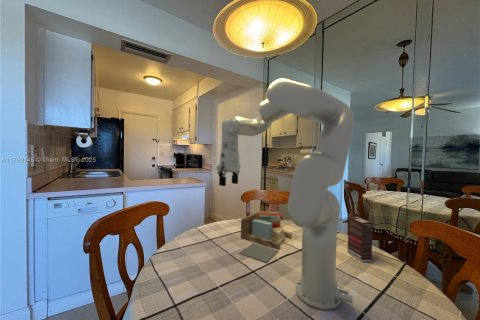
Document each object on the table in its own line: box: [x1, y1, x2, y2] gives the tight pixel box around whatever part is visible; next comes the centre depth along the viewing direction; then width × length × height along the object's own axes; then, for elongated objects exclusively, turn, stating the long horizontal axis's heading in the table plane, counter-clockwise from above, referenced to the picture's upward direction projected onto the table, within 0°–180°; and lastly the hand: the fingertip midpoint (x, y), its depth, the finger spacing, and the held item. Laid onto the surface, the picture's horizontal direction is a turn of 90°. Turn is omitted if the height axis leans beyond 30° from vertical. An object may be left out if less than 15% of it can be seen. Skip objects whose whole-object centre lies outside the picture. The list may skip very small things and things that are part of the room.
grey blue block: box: [251, 219, 273, 241], centre depth 103 cm, size 10×4×8 cm, turn 56°
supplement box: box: [347, 216, 374, 263], centre depth 83 cm, size 9×5×16 cm, turn 9°
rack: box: [240, 212, 293, 251], centre depth 101 cm, size 21×16×10 cm
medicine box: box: [253, 210, 281, 229], centre depth 120 cm, size 15×8×8 cm, turn 88°
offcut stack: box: [270, 227, 286, 245], centre depth 98 cm, size 4×8×6 cm, turn 146°
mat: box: [238, 242, 279, 264], centre depth 85 cm, size 13×12×1 cm
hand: (228, 184), depth 91 cm, fingers open, 9 cm apart
